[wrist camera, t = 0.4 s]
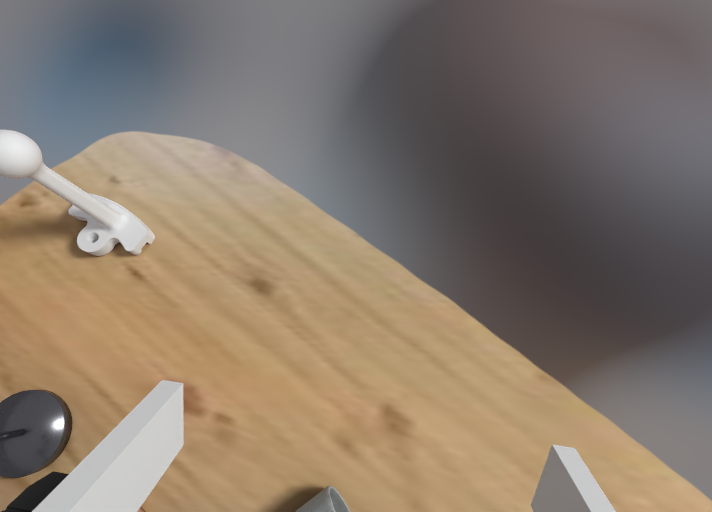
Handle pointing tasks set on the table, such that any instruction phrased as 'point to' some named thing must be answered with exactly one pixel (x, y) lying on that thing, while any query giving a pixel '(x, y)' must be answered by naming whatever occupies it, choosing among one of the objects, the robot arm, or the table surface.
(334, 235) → the table surface
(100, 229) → the white mechanical bracket
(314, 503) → the ceramic mug
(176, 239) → the table surface
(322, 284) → the table surface
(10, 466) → the balance
